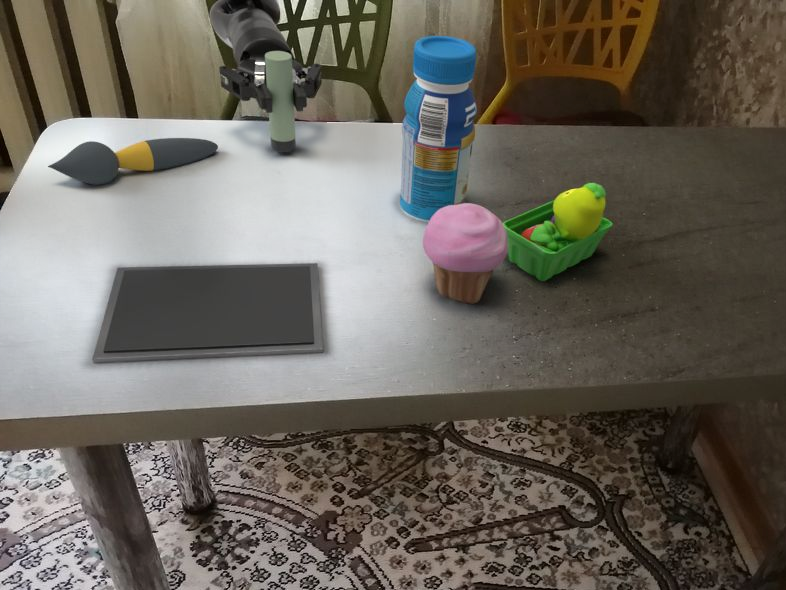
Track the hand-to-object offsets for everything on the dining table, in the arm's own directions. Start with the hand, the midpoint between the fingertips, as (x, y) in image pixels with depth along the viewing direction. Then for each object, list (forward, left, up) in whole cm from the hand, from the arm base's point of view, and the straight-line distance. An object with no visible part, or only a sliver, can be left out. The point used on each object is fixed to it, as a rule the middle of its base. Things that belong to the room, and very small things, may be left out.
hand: (284, 104), depth 92 cm
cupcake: (+6, -33, -8) cm, 35 cm away
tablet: (-18, -26, -8) cm, 33 cm away
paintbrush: (-17, +5, -8) cm, 20 cm away
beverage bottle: (+12, -17, -8) cm, 22 cm away
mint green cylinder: (0, +3, -7) cm, 8 cm away
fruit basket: (+19, -33, -8) cm, 39 cm away
